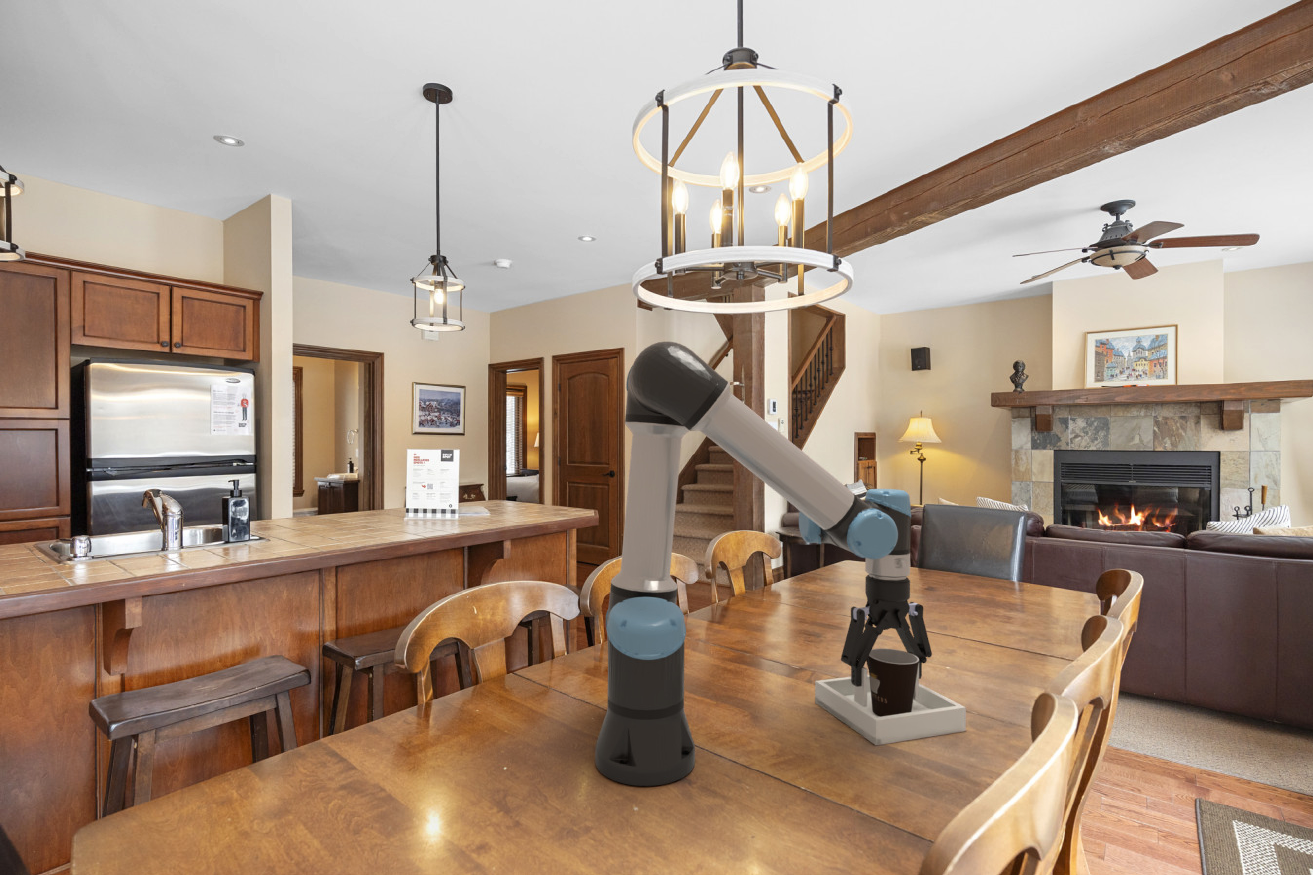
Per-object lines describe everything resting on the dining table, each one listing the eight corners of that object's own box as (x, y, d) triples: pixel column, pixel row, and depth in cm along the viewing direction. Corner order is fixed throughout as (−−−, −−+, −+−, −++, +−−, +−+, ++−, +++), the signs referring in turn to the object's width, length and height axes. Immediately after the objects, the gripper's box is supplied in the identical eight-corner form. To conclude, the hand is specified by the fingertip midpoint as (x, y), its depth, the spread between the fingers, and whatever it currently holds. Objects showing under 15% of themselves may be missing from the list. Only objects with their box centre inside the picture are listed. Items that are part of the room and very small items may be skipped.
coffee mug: (922, 725, 109) (923, 666, 109) (868, 719, 111) (870, 661, 111) (909, 699, 120) (911, 645, 120) (861, 694, 122) (862, 641, 122)
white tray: (876, 745, 104) (876, 720, 104) (815, 702, 121) (815, 680, 121) (965, 730, 109) (965, 707, 109) (895, 691, 126) (895, 671, 127)
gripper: (845, 583, 108) (844, 716, 108) (954, 576, 115) (953, 700, 115) (820, 574, 115) (819, 699, 115) (925, 568, 122) (924, 685, 122)
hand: (886, 700), depth 115 cm, fingers open, 10 cm apart
